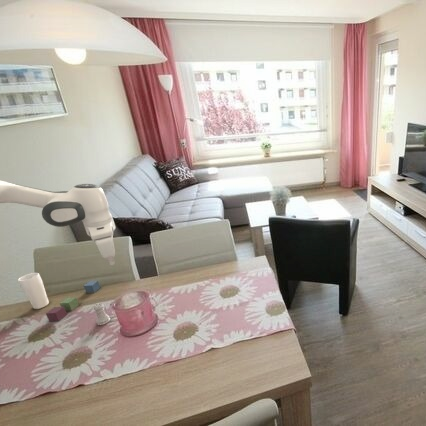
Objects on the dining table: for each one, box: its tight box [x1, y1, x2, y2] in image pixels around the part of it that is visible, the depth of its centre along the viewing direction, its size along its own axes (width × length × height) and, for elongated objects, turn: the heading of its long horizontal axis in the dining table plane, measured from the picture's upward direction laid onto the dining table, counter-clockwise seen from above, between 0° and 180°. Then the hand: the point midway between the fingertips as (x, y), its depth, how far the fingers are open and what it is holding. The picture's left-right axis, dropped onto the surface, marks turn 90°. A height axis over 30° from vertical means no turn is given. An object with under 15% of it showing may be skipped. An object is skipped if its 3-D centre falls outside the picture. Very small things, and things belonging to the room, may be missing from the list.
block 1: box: [45, 306, 68, 322], centre depth 120 cm, size 4×4×4 cm
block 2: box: [59, 296, 80, 312], centre depth 126 cm, size 4×4×4 cm
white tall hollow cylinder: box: [17, 272, 50, 310], centre depth 127 cm, size 7×7×15 cm
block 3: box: [83, 280, 101, 294], centre depth 138 cm, size 4×4×4 cm
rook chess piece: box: [93, 302, 111, 326], centre depth 115 cm, size 4×4×8 cm
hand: (111, 259), depth 113 cm, fingers open, 8 cm apart
